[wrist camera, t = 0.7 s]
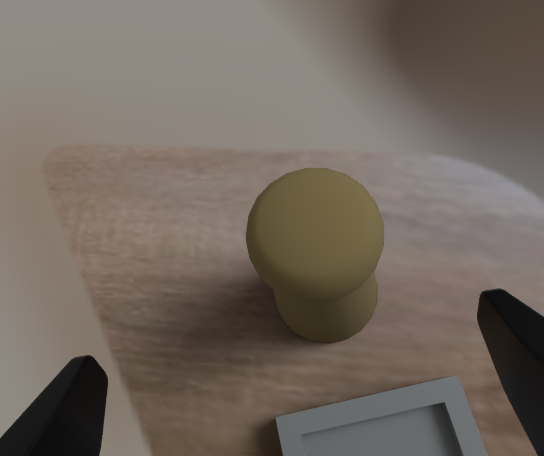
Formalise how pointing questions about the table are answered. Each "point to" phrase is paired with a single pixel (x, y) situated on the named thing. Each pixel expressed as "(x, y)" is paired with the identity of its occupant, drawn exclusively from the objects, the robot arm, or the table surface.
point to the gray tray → (387, 424)
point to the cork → (318, 251)
